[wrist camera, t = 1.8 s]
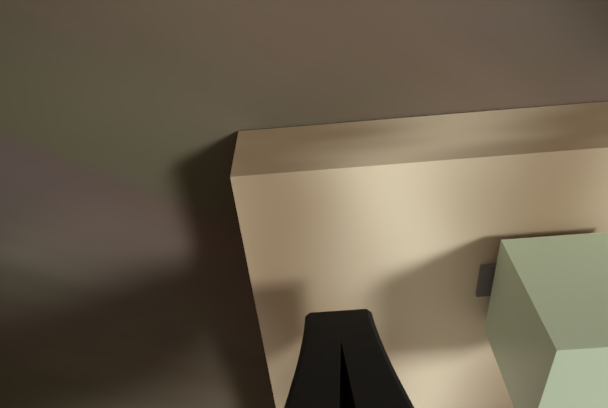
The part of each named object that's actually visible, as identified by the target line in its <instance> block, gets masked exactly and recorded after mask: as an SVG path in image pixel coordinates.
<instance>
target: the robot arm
mask: <svg viewBox="0 0 608 408" xmlns="http://www.w3.org/2000/svg"><path fill="white" fill-rule="evenodd" d="M284 408H414V406H413V404H412V402H411V400H410V399H409V397H408V395H407V393H406V391H405V389H404V387H403V385H402V384H401V382H400V380H399V378H398V376H397V374H396V372H395V370H394V368H393V366H392V364H391V361H390V359H389V357H388V355H387V353H386V350H385V348H384V346H383V343H382V341H381V339H380V336H379V333H378V331H377V328H376V325H375V322H374V319H373V315H372V312H370V311H369V310H368V309H356V310H341V311H327V312H312V313H309V314H308V315H306V316H305V325H304V333H303V339H302V344H301V349H300V354H299V358H298V362H297V366H296V370H295V373H294V377H293V380H292V383H291V387H290V390H289V393H288V397H287V400H286V403H285V406H284Z"/></svg>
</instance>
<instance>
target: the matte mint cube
mask: <svg viewBox="0 0 608 408" xmlns="http://www.w3.org/2000/svg"><path fill="white" fill-rule="evenodd" d="M484 330H485V333H486V335H487V338H488V341H489V343H490V346H491V348H492V351H493V354H494V356H495V359H496V362H497V364H498V367H499V369H500V372H501V375H502V377H503V380H504V383H505V385H506V388H507V390H508V393H509V396H510V398H511V401H512V404H513V406H514V408H608V232H600V233H587V234H573V235H559V236H545V237H531V238H517V239H504V240H501V242H500V248H499V253H498V258H497V264H496V269H495V274H494V280H493V285H492V291H491V296H490V301H489V307H488V312H487V317H486V323H485V328H484Z"/></svg>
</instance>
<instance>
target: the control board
mask: <svg viewBox="0 0 608 408" xmlns="http://www.w3.org/2000/svg"><path fill="white" fill-rule="evenodd" d="M230 179H231V184H232V189H233V195H234V200H235V205H236V210H237V215H238V220H239V225H240V230H241V235H242V240H243V245H244V250H245V255H246V260H247V265H248V270H249V275H250V280H251V285H252V290H253V295H254V300H255V305H256V310H257V315H258V320H259V326H260V331H261V336H262V341H263V346H264V351H265V356H266V361H267V366H268V371H269V376H270V381H271V386H272V391H273V396H274V401H275V406H276V408H284V406H285V403H286V400H287V397H288V393H289V390H290V387H291V383H292V380H293V377H294V373H295V370H296V366H297V362H298V358H299V354H300V349H301V344H302V339H303V333H304V325H305V316H306V315H308V314H309V313H312V312H327V311H341V310H356V309H368V310H369V311H370V312H372V315H373V319H374V322H375V325H376V328H377V331H378V333H379V336H380V339H381V341H382V343H383V346H384V348H385V350H386V353H387V355H388V357H389V359H390V361H391V364H392V366H393V368H394V370H395V372H396V374H397V376H398V378H399V380H400V382H401V384H402V385H403V387H404V389H405V391H406V393H407V395H408V397H409V399H410V400H411V402H412V404H413V406H414V408H514V406H513V404H512V401H511V398H510V396H509V393H508V390H507V388H506V385H505V383H504V380H503V377H502V375H501V372H500V369H499V367H498V364H497V362H496V359H495V356H494V354H493V351H492V348H491V346H490V343H489V341H488V338H487V335H486V333H485V330H484V328H485V323H486V317H487V312H488V307H489V301H490V296H491V291H492V285H493V280H494V274H495V269H496V264H497V258H498V253H499V248H500V242H501V240H504V239H517V238H531V237H545V236H559V235H573V234H587V233H600V232H608V101H605V102H592V103H580V104H568V105H555V106H543V107H531V108H518V109H506V110H494V111H481V112H469V113H457V114H444V115H432V116H420V117H407V118H395V119H383V120H370V121H358V122H346V123H333V124H321V125H309V126H296V127H284V128H272V129H259V130H247V131H238V136H237V141H236V147H235V152H234V158H233V163H232V169H231V174H230Z"/></svg>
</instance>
